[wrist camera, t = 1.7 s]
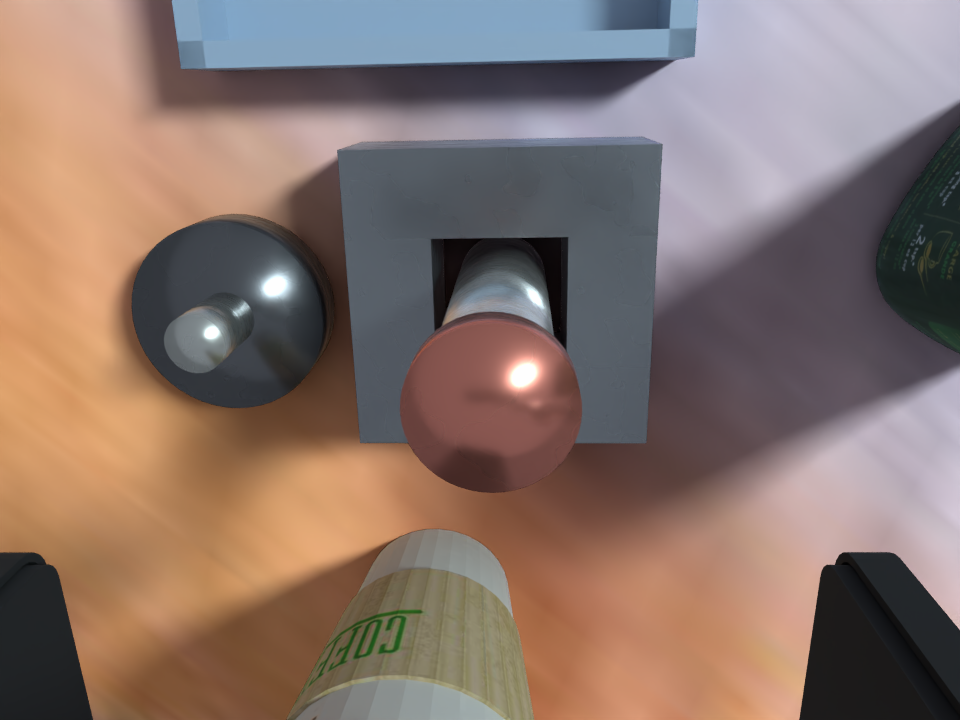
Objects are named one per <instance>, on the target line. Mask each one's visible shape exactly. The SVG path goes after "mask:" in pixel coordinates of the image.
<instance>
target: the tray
mask: <svg viewBox="0 0 960 720" xmlns="http://www.w3.org/2000/svg"><path fill="white" fill-rule="evenodd" d="M172 6H173V13H174V20H175V28H176V35H177V42H178V49H179V57H180V64H181V69H190V70H206V71H242V70H283V69H325V68H367V67H409V66H450V65H492V64H534V63H576V62H618V61H659V60H679V59H684V58H689V57H695V42H696V26H697V11H698V0H172Z"/></svg>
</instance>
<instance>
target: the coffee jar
mask: <svg viewBox="0 0 960 720" xmlns="http://www.w3.org/2000/svg"><path fill="white" fill-rule="evenodd" d="M876 275H877V281H878V284H879V288H880V291H881V293H882V295H883V296H884V298H885V300H886V302H887V303H888V304H889V306H890V307H891V308H892V309H893V310H894V311H895V312H896V313H897V314H898V315H899V316H900V317H901V318H903V319H904V320H905V321H906V322H908V323H909V324H911V325H912V326H913V327H915V328H916V329H918V330H919V331H921V332H922V333H924V334H925V335H927V336H928V337H930V338H932V339H934V340H935V341H937V342H939V343H941V344H942V345H944V346H946V347H948V348H950V349H952V350H954V351H956V352H958V353H959V354H960V126H959V127H958V128H957V129H956V131H955V132H953V134H952V135H951V136H950V137H949V138H948V140H947V141H946V142H945V143H944V145H943V146H942V147H941V148H940V149H939V151H938V152H937V153H936V155H935V156H934V158H933V159H932V160H931V162H930V163H929V164H928V165H927V167H926V168H925V170H924V171H923V172H922V174H921V175H920V176H919V178H918V179H917V180H916V182H915V184H914V185H913V187H912V188H911V189H910V191H909V192H908V194H907V195H906V197H905V198H904V200H903V202H902V203H901V205H900V207H899V208H898V210H897V212H896V213H895V215H894V217H893V218H892V220H891V222H890V224H889V226H888V228H887V229H886V231H885V233H884V235H883V238H882V240H881V242H880V246H879V249H878V253H877V259H876Z"/></svg>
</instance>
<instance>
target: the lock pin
mask: <svg viewBox="0 0 960 720" xmlns="http://www.w3.org/2000/svg"><path fill="white" fill-rule="evenodd" d="M400 416H401V423H402V427H403V430H404V434H405V436H406V438H407V441H408V443H409V445H410V447H411V448H412V450H413V452H414V453H415V454H416V456H417V457H418V458H419V460H420V461H421V462H422V463H423V464H424V465H425V466H426V467H427V468H428V469H429V470H431V471H432V472H433V473H434V474H436V475H437V476H438V477H440V478H442V479H444V480H445V481H447V482H449V483H451V484H453V485H456V486H458V487H461V488H465V489H468V490H472V491H478V492H489V493H496V492H507V491H513V490H517V489H520V488H524V487H526V486H529V485H531V484H533V483H536V482H537V481H539V480H541V479H543V478H544V477H546V476H547V475H548V474H550V473H551V472H552V471H554V470H555V469H556V468H557V467H558V466H559V465H560V464H561V463H562V462H563V460H564V459H565V458H566V456H567V455H568V454H569V452H570V451H571V449H572V447H573V445H574V444H575V441H576V438H577V436H578V433H579V429H580V425H581V419H582V400H581V395H580V389H579V384H578V379H577V374H576V371H575V368H574V365H573V363H572V361H571V359H570V357H569V355H568V353H567V352H566V350H565V349H564V347H563V346H562V344H561V343H560V342H559V341H558V340H557V339H556V338H555V337H554V333H553V326H552V319H551V312H550V304H549V297H548V290H547V283H546V276H545V269H544V265H543V262H542V259H541V257H540V255H539V254H538V253H537V251H536V250H535V249H534V248H533V247H532V246H531V245H530V244H529V243H527V242H526V241H524V240H523V239H520V238H485V239H483V240H481V241H479V242H478V243H476V244H475V245H474V246H473V247H472V248H471V249H470V250H469V252H468V253H467V255H466V256H465V258H464V260H463V263H462V266H461V269H460V272H459V275H458V278H457V281H456V284H455V287H454V290H453V294H452V297H451V300H450V303H449V306H448V309H447V312H446V315H445V318H444V321H443V324H442V326H441V327H440V328H438V329H437V330H436V331H435V332H434V333H432V334H431V335H430V336H429V337H428V338H427V339H426V340H425V342H424V343H423V344H422V345H421V347H420V348H419V350H418V351H417V353H416V354H415V356H414V359H413V361H412V363H411V365H410V368H409V370H408V373H407V375H406V378H405V381H404V384H403V387H402V391H401V398H400Z"/></svg>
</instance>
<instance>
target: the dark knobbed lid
mask: <svg viewBox="0 0 960 720" xmlns="http://www.w3.org/2000/svg"><path fill="white" fill-rule="evenodd" d="M132 315H133V322H134V326H135V330H136V333H137V336H138V339H139V341H140V344H141V346H142V348H143V350H144V351H145V353H146V355H147V357H148V358H149V359H150V361H151V362H152V364H153V365H154V366H155V368H156V369H157V370H158V371H159V372H160V373H161V374H162V375H163V376H164V377H165V378H166V379H167V380H168V381H169V382H170V383H171V384H173V385H174V386H176V387H177V388H178V389H180V390H181V391H183V392H185V393H186V394H188V395H190V396H191V397H194V398H196V399H198V400H201V401H203V402H206V403H209V404H213V405H217V406H222V407H230V408H247V407H254V406H260V405H264V404H267V403H270V402H273V401H275V400H277V399H279V398H281V397H283V396H284V395H286V394H287V393H289V392H290V391H292V390H293V389H294V388H295V387H296V386H297V385H298V384H299V383H301V381H302V380H303V379H304V378H305V376H306V375H307V374H308V373H309V371H310V370H311V369H312V367H313V366H314V365H315V363H316V362H317V361H318V359H319V358H320V357H321V355H322V353H323V352H324V350H325V348H326V347H327V344H328V342H329V339H330V337H331V333H332V329H333V324H334V316H335V313H334V298H333V292H332V289H331V285H330V282H329V279H328V277H327V275H326V272H325V270H324V268H323V267H322V265H321V263H320V261H319V260H318V258H317V257H316V256H315V254H314V253H313V252H312V250H311V249H310V248H309V247H308V246H307V245H306V244H305V243H304V242H303V241H302V240H301V239H299V238H298V237H297V236H296V235H295V234H293V233H292V232H290V231H289V230H287V229H286V228H284V227H282V226H280V225H278V224H276V223H274V222H272V221H270V220H266V219H263V218H260V217H256V216H251V215H244V214H227V215H219V216H215V217H211V218H208V219H205V220H203V221H200V222H198V223H195V224H193V225H190V226H188V227H185V228H183V229H181V230H178V231H176V232H174V233H173V234H171V235H169V236H167V237H166V238H165V239H163V240H162V241H161V242H159V243H158V244H157V245H156V246H155V247H154V248H153V249H152V250H151V251H150V252H149V254H148V255H147V257H146V258H145V260H144V261H143V263H142V265H141V267H140V269H139V271H138V273H137V276H136V279H135V282H134V287H133V293H132Z"/></svg>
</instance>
